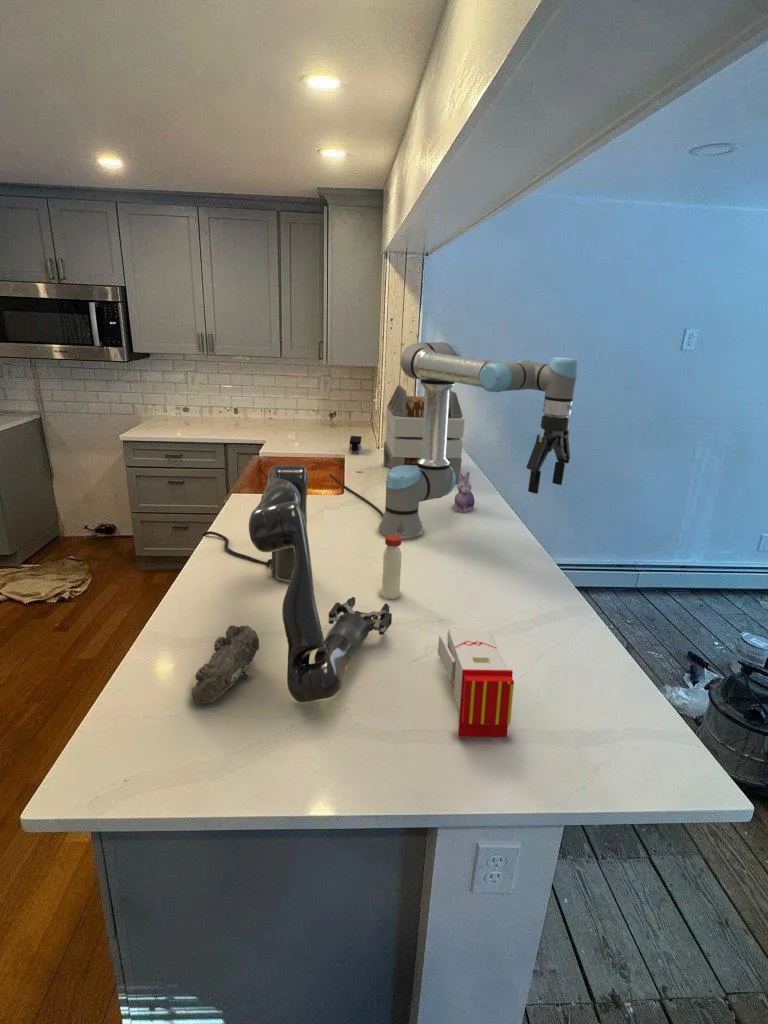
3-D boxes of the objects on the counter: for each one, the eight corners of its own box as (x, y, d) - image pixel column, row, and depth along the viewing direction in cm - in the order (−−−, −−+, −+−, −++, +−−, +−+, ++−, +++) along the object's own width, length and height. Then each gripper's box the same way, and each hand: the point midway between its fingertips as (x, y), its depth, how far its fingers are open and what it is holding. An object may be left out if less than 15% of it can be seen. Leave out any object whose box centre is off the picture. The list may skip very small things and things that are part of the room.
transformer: (382, 463, 289) (386, 382, 275) (445, 464, 293) (451, 384, 279) (390, 482, 257) (394, 392, 243) (460, 483, 261) (468, 394, 247)
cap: (404, 544, 152) (404, 537, 151) (393, 548, 149) (393, 541, 149) (393, 539, 155) (393, 533, 154) (381, 543, 152) (382, 536, 151)
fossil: (211, 627, 129) (258, 597, 124) (240, 656, 132) (287, 627, 127) (170, 698, 110) (224, 665, 105) (204, 729, 113) (259, 699, 108)
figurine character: (361, 457, 304) (361, 447, 317) (361, 444, 301) (362, 434, 314) (348, 456, 304) (349, 447, 317) (348, 443, 300) (349, 434, 314)
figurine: (461, 514, 221) (464, 477, 216) (446, 506, 230) (449, 470, 225) (480, 511, 226) (484, 475, 221) (466, 503, 234) (469, 468, 229)
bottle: (402, 595, 157) (406, 539, 152) (390, 600, 154) (393, 543, 148) (390, 589, 160) (393, 533, 155) (378, 594, 157) (380, 538, 152)
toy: (488, 613, 130) (523, 677, 101) (484, 667, 133) (517, 744, 104) (435, 612, 130) (455, 676, 101) (432, 666, 133) (451, 743, 103)
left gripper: (377, 629, 122) (398, 595, 136) (316, 616, 126) (343, 584, 140) (375, 659, 124) (397, 622, 139) (316, 645, 128) (342, 611, 143)
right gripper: (545, 422, 147) (533, 499, 154) (589, 413, 164) (577, 483, 171) (520, 417, 152) (510, 492, 159) (565, 409, 169) (555, 477, 176)
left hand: (370, 603), depth 140 cm, fingers open, 8 cm apart
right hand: (545, 488), depth 165 cm, fingers open, 13 cm apart
